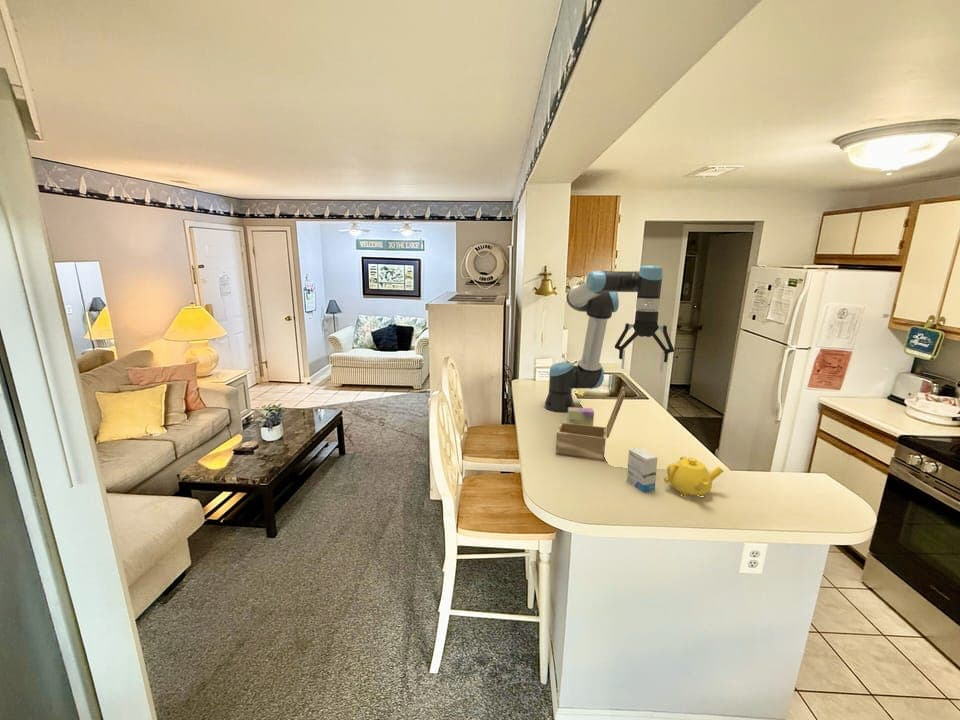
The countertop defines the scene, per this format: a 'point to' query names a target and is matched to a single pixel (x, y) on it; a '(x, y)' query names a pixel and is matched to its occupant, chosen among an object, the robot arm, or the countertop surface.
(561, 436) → the brown wooden crate
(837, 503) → the countertop surface
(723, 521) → the countertop surface
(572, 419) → the box
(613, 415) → the lid
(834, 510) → the countertop surface
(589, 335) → the robot arm
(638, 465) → the ink box
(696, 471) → the teapot
